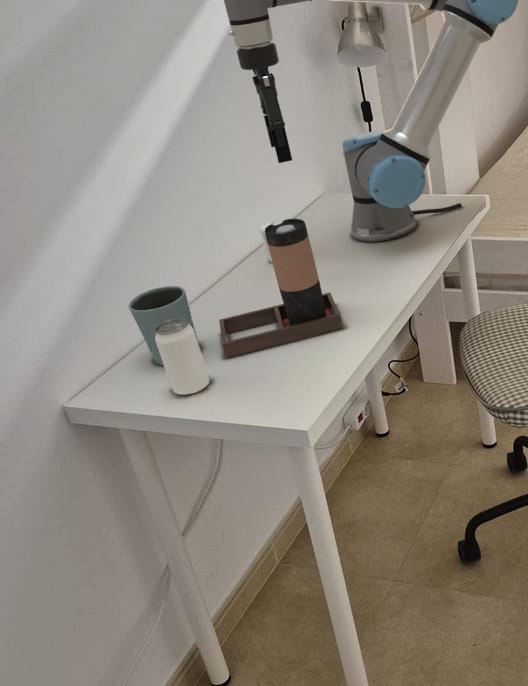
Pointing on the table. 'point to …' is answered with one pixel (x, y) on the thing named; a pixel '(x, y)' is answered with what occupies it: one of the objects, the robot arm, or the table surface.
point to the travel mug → (295, 271)
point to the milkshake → (262, 231)
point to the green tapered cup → (159, 313)
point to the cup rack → (276, 335)
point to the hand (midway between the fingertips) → (281, 153)
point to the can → (181, 356)
